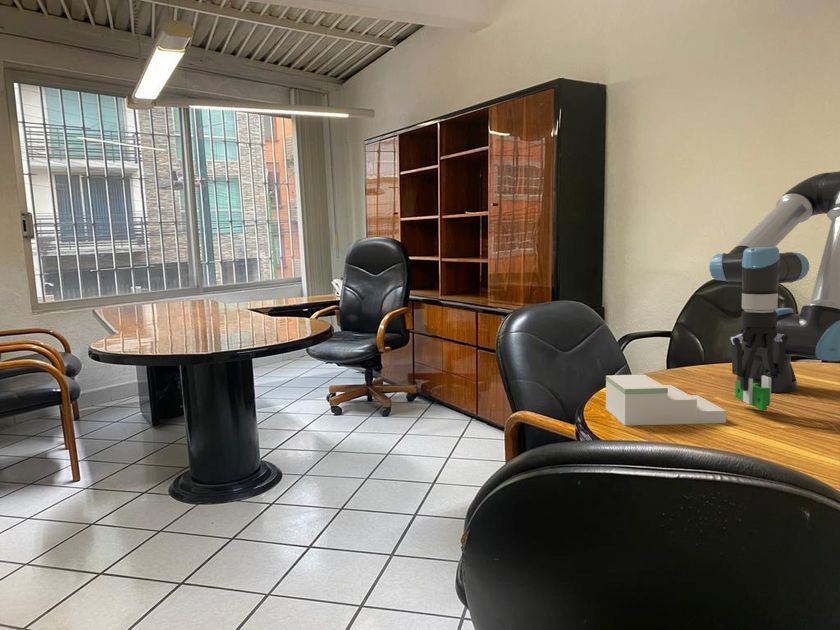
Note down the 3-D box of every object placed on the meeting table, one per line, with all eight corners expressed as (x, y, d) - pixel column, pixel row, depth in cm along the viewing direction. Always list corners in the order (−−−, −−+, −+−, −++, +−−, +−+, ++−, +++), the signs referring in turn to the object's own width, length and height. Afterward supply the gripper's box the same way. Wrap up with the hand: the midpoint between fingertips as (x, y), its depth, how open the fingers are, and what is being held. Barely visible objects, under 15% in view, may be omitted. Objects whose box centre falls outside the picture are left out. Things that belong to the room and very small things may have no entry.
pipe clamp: (777, 409, 131) (778, 391, 130) (762, 410, 131) (762, 392, 130) (749, 396, 142) (749, 379, 142) (734, 397, 142) (735, 380, 141)
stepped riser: (696, 406, 143) (697, 372, 142) (725, 423, 129) (727, 386, 128) (605, 408, 144) (605, 375, 143) (624, 425, 130) (625, 389, 129)
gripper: (783, 306, 137) (781, 396, 140) (716, 310, 137) (714, 399, 140) (804, 310, 129) (800, 405, 132) (732, 314, 129) (731, 408, 133)
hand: (756, 402), depth 136 cm, fingers closed on pipe clamp, 4 cm apart
